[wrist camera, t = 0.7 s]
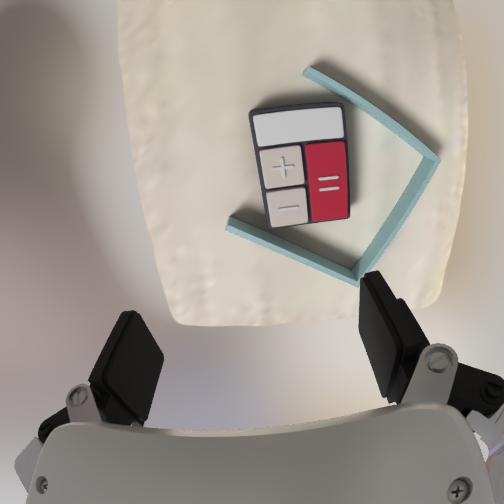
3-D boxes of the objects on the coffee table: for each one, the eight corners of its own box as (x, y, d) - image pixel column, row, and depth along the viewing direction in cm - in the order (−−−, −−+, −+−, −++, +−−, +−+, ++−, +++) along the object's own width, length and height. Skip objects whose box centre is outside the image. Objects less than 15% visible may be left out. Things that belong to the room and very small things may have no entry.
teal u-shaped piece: (304, 69, 28) (308, 66, 25) (429, 155, 32) (441, 159, 29) (227, 220, 38) (225, 230, 35) (352, 276, 42) (357, 287, 40)
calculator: (268, 232, 35) (247, 112, 27) (266, 218, 39) (248, 110, 31) (352, 221, 34) (345, 102, 26) (343, 208, 38) (335, 101, 30)
